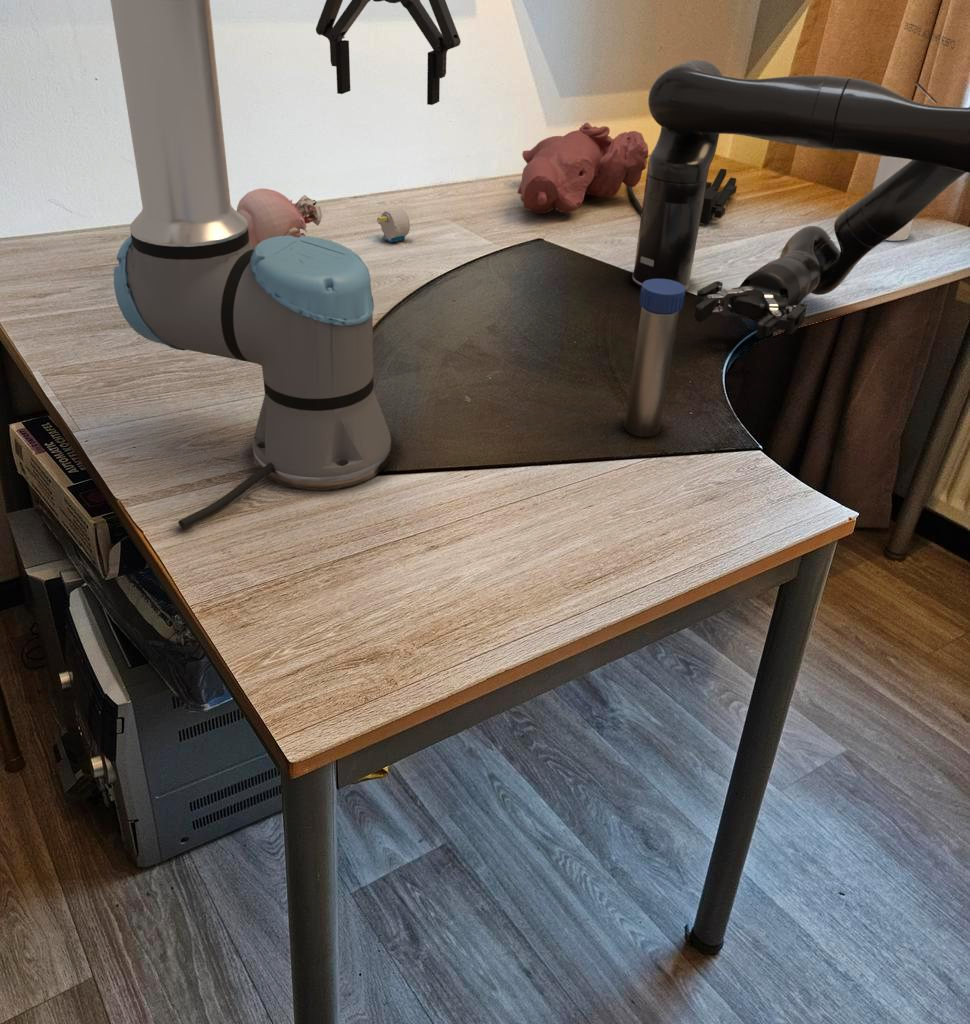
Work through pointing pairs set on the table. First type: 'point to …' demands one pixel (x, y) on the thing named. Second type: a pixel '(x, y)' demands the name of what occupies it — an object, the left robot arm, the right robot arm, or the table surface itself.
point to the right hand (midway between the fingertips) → (728, 322)
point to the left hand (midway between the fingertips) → (388, 97)
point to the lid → (662, 296)
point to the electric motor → (394, 225)
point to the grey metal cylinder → (650, 372)
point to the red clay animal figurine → (580, 168)
